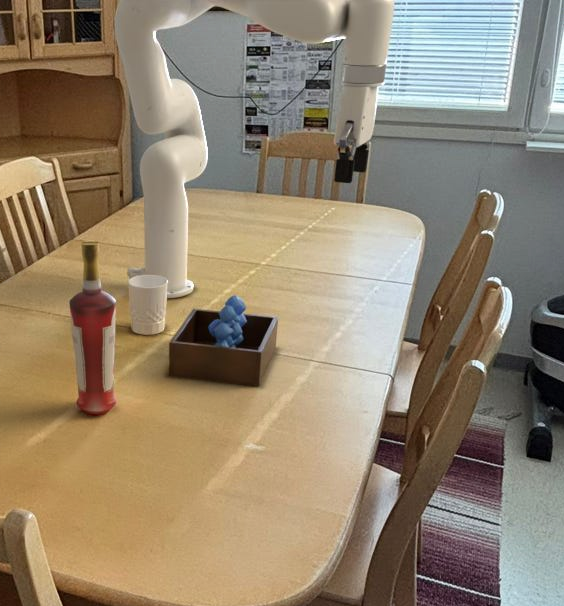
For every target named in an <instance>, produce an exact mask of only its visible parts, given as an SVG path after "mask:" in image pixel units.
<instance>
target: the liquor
mask: <svg viewBox="0 0 564 606" xmlns="http://www.w3.org/2000/svg"><path fill="white" fill-rule="evenodd" d="M80 246H81V256H82V261H83V274H82V291H80V292H78V293H76V294H75V295H74V296H72V298H71V299H69V301H68V302H69V313H70V322H71V323H70V324H71V334H72V342H73V351H74V358H75V359H74V360H75V369H76V381H77V394H78V397H77V399H76V401H75V404H76V406H77V407H78V408H79V409H80V410H82V411H83V412H84V413H86V414H88V415H92V416H101V415H104V414H107V413H108V412H110V410H112V409H113V408H114V407H115V406H116V405H117V402H118V400H117V398H116V397H115V347H116V346H115V345H116V343H115V342H116V305H117V304H116V302H117V301H116V298H115V297H113V295H111V294H109V293H108V292H107V291H103V290H102V285H101V276H100V269H99V259H100V242H99V241H98V240H92V239H88V240H84V241H81V245H80Z"/></svg>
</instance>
